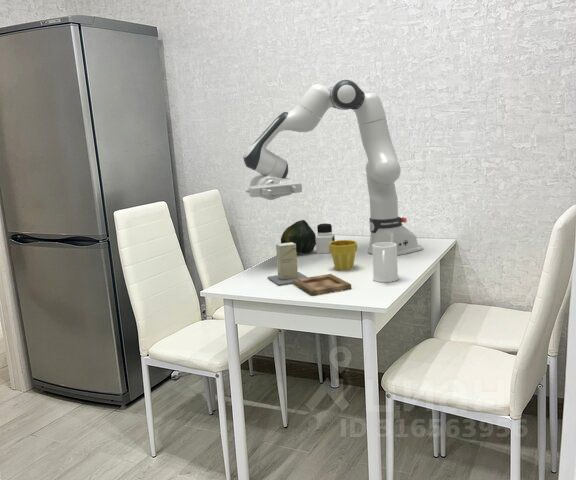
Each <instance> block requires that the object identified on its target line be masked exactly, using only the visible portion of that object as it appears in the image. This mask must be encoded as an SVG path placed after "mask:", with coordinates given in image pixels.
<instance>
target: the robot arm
mask: <svg viewBox="0 0 576 480" xmlns="http://www.w3.org/2000/svg"><path fill="white" fill-rule="evenodd" d="M330 108H334V109H337V110H341V111H348V110H352V111H353V112H354V114H355V115H356V119H357V124H358V129H359V135H360V139H361V142H362V146H363V148H364V151H365V154H366V158H367V162H366V165H365V173H366V183H367V189H368V190H367V191H368V197H369V215H370V218H369V232H370V235H369V236H370V238H369V245H368V250H367V253H368V254H372V255H373V250H372V245H373V244H375V243H380V242H392V243H396V244H397V256H401V255H404V254H410V253H415V252H418V251H419V252H420V251H423V250H424V247H423V245H421V244H418V240H417V236H416V234H415V232H413V231H411V230H410V229H409V228H407V227H406V226H404V225H403V223H404V224H406V223H407V217H404V216H403V217H400V216H399V207H398V202H399V201H398V195H397V194H398V193H397V191H396V186H395V185H396V184H395V182H396V181H398V179H399V178H400V176H401V170H402V169H401V166H400V163H399V161H398V157H397V153H396V151H395V148H394V144H393V142H392V139H391V135H390V130H389V124H388V120H387V116H386V112H385V108H384V105H383V103H382V101H381V97H380V96H379V95H378V94H377V93H375V92H364V91H363V90H362V88H360V86H358V84H357V83H356V82H355V81H353V80H350V79H342V80H340V81H337V82H336V83H335V84H334V85H332V86H330V87H326V86H325V85H323V84H320V83H315V84H312V85H311V86H310V87H309V88H308V89H307V90H306V92H304V94H303V95H302V97H301V98H300V99H299V101H298V102H297V104H296V105H295V107H294V108H292V109H291V110H289V111H283V112H281V113H280V114H279V115H277V117H276V118H275V119H274V120H273V121H272V122H271V123H270V124H269V125H268V126H267V128H266V129H265V130H264V131H263V132H262V134H260V136H259V137H258V138H257V139H256V140H255V141H254V142H253V143H252V144H250V146H249V147H248V148H247V149H246V150H245V152H244V154H243V162H244V165H245V166H246V167H247V168H249V169H251V170H252V171H255V172H257V173H259V175H256V176H254V177H253V178H252V179H251V181H250V182H249V183H250V184H249V186H248V189H246V190H245V193H247V194H248V195H249V197H251V198H262V199H265V200H267V201H268V200H269V201H274V200H276V199H279V198H281V197H285V196H290V195H292V194H299V193H302V192H303V183H302V182H301V181H299V180H294V179H292V178H291V177H288V174H289V164H288V162H287V160H286V159H284V158H283V157H280V156H279V155H277V154H275V153H274V152H272V151H270V150H269V149H268V148H267V147H268V146H269V144H270V143H272V141H273V140H274V139H275V138H276V136H278V134H279V133H281V132H284V131H292V132H297V133H309V132H311V131H313V130H314V129H315V128H316V127H317V126H318V125H319V123H320V122H321V120H322V119H323V117H324V115H325V114H326V113H327V111H329V110H330Z"/></svg>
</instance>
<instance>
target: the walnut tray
mask: <svg viewBox="0 0 576 480" xmlns="http://www.w3.org/2000/svg"><path fill="white" fill-rule="evenodd" d="M307 277H308V278H302V279H296V280H293V284H292V285H293V286H295V287H297V288H298V289H300V290H302V291H303V292H305V293H306V294H308V295H309V296H311V297H313V296H318V295H319V294H320V295H325V293H326V294H331V293H330V292H332V293H336V292H335V291H337V292H342V291H341V290H343V291H348V290H347V289H349V290H352V283H349V282H348V281H346V280H343V279H342V278H339V277H338V276H336V275H334V274H332V273H328V274H321V275H315V276H307ZM320 295H319V296H320Z"/></svg>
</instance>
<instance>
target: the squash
mask: <svg viewBox="0 0 576 480" xmlns="http://www.w3.org/2000/svg"><path fill="white" fill-rule="evenodd" d="M316 236H317V235H316V233H315V232H314V230H313V229H312V227H311V226H310V225H309V224H308V222H307V221H306V220H305V219H302V220H298V221H296V222H294V223H292V224H291V225H289V226H288V227H287V228H285V230H284V231H283V233H282V234H281V237H280V244H282V243H290V242H292V243H295V244H296V253H297V254H310V253H312V252H313V251H314V249H315V248H316Z"/></svg>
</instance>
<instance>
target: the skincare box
mask: <svg viewBox="0 0 576 480" xmlns="http://www.w3.org/2000/svg"><path fill="white" fill-rule="evenodd" d="M275 250H276V265H277V275H278V278H280V279H282V280H284V279H291V278H297V277H298V272H299V270H298V261H297V260H298V256H297V254H298V253H296V244H295V243H292V242H290V243H282V244H281V243H276V244H275Z"/></svg>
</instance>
